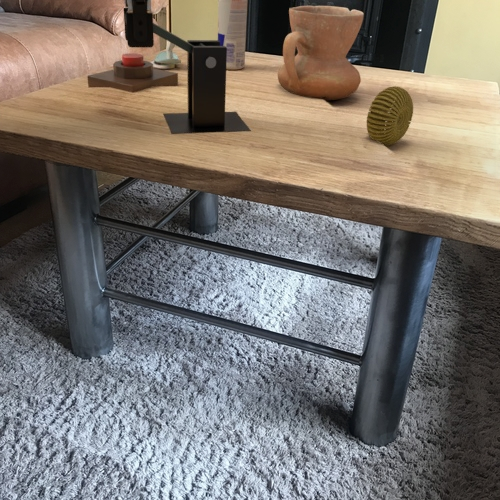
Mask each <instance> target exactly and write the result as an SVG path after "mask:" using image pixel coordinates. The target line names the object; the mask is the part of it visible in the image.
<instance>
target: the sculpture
mask: <svg viewBox="0 0 500 500" xmlns="http://www.w3.org/2000/svg"><path fill="white" fill-rule="evenodd" d="M413 116H414V102H413V98H412V96H411V94H410V93H409V92H408V91H407V89H405V88H403V87H400V86H389V87H387V88H384V89H383V90H381V91H380V92H379V93H378V94H377V95H376V96H375V98H374V99H373V100H372V102H371V103H370V106H369V109H368V112H367V116H366V130H367V134H368V136H369V138H370V139H371V140H372V141H375V142H378V143H380V144H381V145H382V146H385V147H387V146H392V145H394V144H396V143H398V142H399V141H401V139H402V138H403V137H404V136H405V135H406V134H407V131H408V130H409V128H410V125H411V122H412V119H413Z"/></svg>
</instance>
